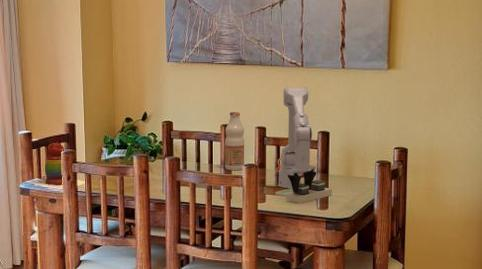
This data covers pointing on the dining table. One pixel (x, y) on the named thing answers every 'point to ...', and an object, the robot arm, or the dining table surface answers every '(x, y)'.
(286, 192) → the tray
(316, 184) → the twin plug
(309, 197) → the strip
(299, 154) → the robot arm
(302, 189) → the plug
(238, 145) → the fruit juice
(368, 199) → the dining table surface
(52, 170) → the stacking bear
